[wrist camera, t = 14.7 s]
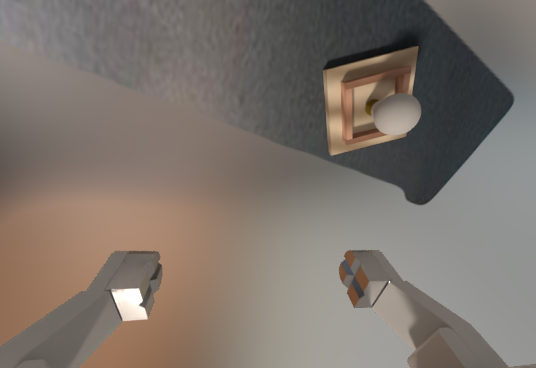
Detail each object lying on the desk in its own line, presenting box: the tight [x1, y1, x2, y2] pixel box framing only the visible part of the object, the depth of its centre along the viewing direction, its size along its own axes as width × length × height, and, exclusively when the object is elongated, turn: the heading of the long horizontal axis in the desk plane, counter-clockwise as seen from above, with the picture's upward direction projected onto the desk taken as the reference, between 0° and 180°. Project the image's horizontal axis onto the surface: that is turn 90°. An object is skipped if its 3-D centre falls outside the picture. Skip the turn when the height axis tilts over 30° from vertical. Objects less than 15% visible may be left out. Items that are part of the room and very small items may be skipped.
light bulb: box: [365, 93, 421, 135], centre depth 32 cm, size 6×6×10 cm
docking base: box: [323, 46, 419, 155], centre depth 36 cm, size 15×15×4 cm
